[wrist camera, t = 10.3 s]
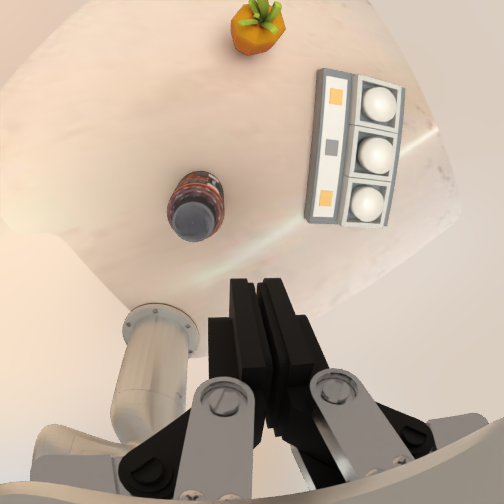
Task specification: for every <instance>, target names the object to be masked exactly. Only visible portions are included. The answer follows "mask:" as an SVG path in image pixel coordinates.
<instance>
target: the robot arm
mask: <svg viewBox="0 0 504 504" xmlns="http://www.w3.org/2000/svg"><path fill="white" fill-rule="evenodd" d="M123 337H124V340H125V342H126V344H127V348H126V351H125V355H124V358H123V362H122V365H121V369H120V373H119V377H118V380H117V384H116V389H115V393H114V397H113V401H112V405H111V411H110V415H111V422H112V425H113V428H114V431H115V433H116V435H117V437H118V438H119V440H120V442H121V444H119V443H113V442H110V441H107V440H103V439H100V438H98V437H95V436H92V435H89V434H86V433H83V432H80V431H77V430H74V429H72V428H69V427H66V426H62V425H57V424H52V425H48V426H46V427H44V428H43V429H42V430H41V432H40V433H39V435H38V438H37V440H36V443H35V447H34V453H33V460H32V467H31V471H30V481H20V482H9V483H4V484H0V504H504V417H503V418H501V419H499V420H496V421H494V422H492V423H490V424H489V423H488V421H487V420H486V418H484V417H483V416H482V415H480V414H477V413H469V414H464V415H459V416H453V417H446V418H440V419H432V420H428V422H427V423H424V422H422V421H420V420H418V419H416V418H414V417H411V416H409V415H406V414H404V413H401V412H399V411H396V410H394V409H391V408H389V407H387V406H384V405H382V404H380V403H377V402H375V401H374V400H373V399H372V397H371V396H370V394H369V393H368V391H367V390H366V389H365V387H364V386H363V384H362V383H361V381H359V379H358V378H357V377H356V376H355V375H353V374H352V373H350V372H348V371H345V370H342V369H335V368H331V369H329V366H328V364H327V362H326V359H325V357H324V355H323V352H322V350H321V348H320V345H319V343H318V341H317V339H316V337H315V334H314V332H313V330H312V327H311V325H310V323H309V320H308V318H307V317H306V315H295V312H294V310H293V307H292V305H291V302H290V300H289V297H288V295H287V292H286V290H285V287H284V285H283V282H282V280H281V278H264V280H263V283H258V284H257V294H256V292H255V287H254V284H253V283H248V281H247V279H230V303H229V317H218V318H208V353H209V380H207V381H205V382H203V383H202V384H201V385H200V386H199V387H198V388H197V390H196V392H195V394H194V398H193V402H192V407H191V408H190V409H189V410H188V411H186V412H185V405H186V381H187V362H188V358H190V357H191V356H192V355H193V354H194V353H195V351H196V350H197V347H198V341H199V336H198V330H197V327H196V326H195V324H194V322H193V321H192V320H191V319H190V318H189V317H188V316H187V315H186V314H185V313H183V312H182V311H180V310H178V309H176V308H174V307H171V306H168V305H163V304H146V305H143V306H140V307H138V308H136V309H134V310H133V311H131V312H130V313H129V314H128V316H127V317H126V319H125V322H124V325H123ZM265 418H266V423H267V427H268V428H274V433H275V437H279V436H282V439H283V440H284V441H286V442H287V443H289V444H291V450H292V453H293V455H294V458H295V460H296V462H297V464H298V466H299V469H300V471H301V473H302V475H303V478H304V480H305V482H306V484H307V486H308V488H309V491H308V492H302V493H296V494H290V495H283V496H276V497H268V498H258V499H251V495H252V468H253V466H252V465H253V449H254V448H255V447H256V446H257V445H258V444H259V443H260V442H261V437H262V431H263V426H264V421H265Z"/></svg>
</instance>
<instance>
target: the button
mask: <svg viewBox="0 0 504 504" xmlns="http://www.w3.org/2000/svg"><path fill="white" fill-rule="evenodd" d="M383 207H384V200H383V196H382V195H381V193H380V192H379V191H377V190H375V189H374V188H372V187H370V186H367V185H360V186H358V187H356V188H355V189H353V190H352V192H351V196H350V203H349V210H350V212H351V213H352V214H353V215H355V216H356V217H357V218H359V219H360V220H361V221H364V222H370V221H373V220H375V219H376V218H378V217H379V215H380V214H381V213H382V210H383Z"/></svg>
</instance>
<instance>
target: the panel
mask: <svg viewBox="0 0 504 504" xmlns="http://www.w3.org/2000/svg"><path fill="white" fill-rule="evenodd" d="M376 87H383V88H386V89H387V90H389V91H390V92H391V93H392V94H393V96H394V97H395V100H396V104H397V110H396V113H395V115H394V117H393V118H392V119H391V120H389V121H386V122H380V121H372V120H369V119H368V118H366V117H365V116H364V115H363V113H362V112H361V97H362V93H363V91H365V90H366V89H369V88H376ZM404 102H405V88H403V87H401V86H398V85H395V84H391V83H388V82H385V81H381V80H377V79H374V78H370V77H366V76H362V75H355V74H351V73H346V72H342V71H337V70H332V69H327V68H323V69H320V70H318V71H317V82H316V98H315V111H314V124H313V136H312V147H311V158H310V168H309V178H308V187H307V196H306V205H305V214H304V218H305V219H306V220H307V221H308V222H309V223H315V224H339V225H340V226H341V227H367V228H383V226H387V223H388V218H389V213H390V208H391V203H392V197H393V192H394V186H395V180H396V173H397V166H398V159H399V152H400V144H401V135H402V125H403V115H404ZM368 137H377V138H382V139H385V140H387V141H389V142H390V143H391V145H392V146H393V148H394V151H395V161H394V164H393V166H392V168H391V169H390V170H389V171H388V172H386V173H383V174H376V173H374V172H371V171H369V170H366V169H365V168H363V167H362V166H361V164H360V163H359V160H358V156H357V152H358V147H359V145H360V143H361V142H362V141H363V140H364V139H366V138H368ZM360 185H367V186H370V187H372V188H374V189H375V190H377V191H379V192H380V193H381V195H382V196H383V200H384V207H383V210H382V213H381V214H380V215H379V217H378V218H376V219H375V220H373V221H370V222H364V221H361V220H360V219H359V218H357V217H356V216H355V215H353V214H352V213H351V212H350V210H349V203H350V196H351V192H352V190H353V189H355V188H356V187H358V186H360Z"/></svg>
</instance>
